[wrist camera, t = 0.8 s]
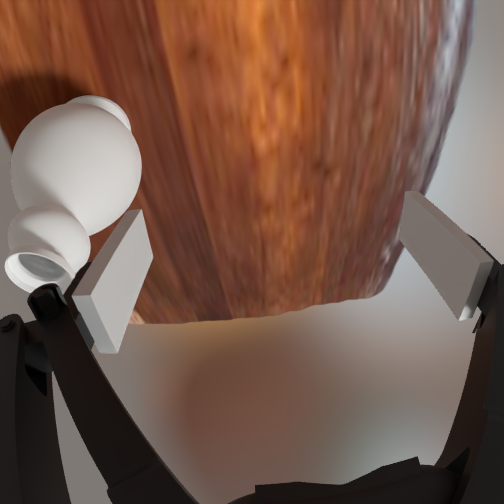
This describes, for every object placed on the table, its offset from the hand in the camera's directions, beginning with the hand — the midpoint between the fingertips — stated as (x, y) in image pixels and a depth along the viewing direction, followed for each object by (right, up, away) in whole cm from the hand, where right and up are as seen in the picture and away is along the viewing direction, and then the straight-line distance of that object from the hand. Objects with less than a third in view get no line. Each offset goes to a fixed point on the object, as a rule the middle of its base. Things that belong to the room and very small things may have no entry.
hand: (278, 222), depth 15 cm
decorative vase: (-25, +16, +25) cm, 39 cm away
